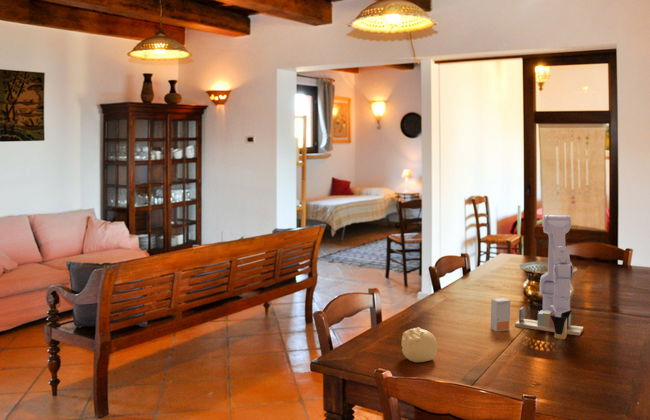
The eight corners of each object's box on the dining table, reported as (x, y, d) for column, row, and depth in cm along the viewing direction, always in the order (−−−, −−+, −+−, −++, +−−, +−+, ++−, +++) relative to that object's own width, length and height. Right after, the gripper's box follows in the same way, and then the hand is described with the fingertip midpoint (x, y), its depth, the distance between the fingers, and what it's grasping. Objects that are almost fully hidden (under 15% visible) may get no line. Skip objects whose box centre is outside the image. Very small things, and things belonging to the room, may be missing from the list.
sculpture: (398, 354, 219) (398, 323, 217) (432, 353, 219) (432, 322, 218) (404, 366, 207) (404, 334, 206) (440, 364, 208) (441, 333, 207)
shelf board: (519, 321, 256) (519, 318, 256) (583, 329, 244) (583, 326, 244) (514, 326, 249) (515, 323, 249) (579, 335, 237) (579, 332, 237)
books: (540, 322, 250) (540, 309, 250) (568, 326, 245) (569, 312, 244) (537, 325, 246) (537, 312, 245) (566, 329, 241) (567, 316, 240)
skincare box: (496, 332, 242) (496, 301, 241) (490, 328, 246) (490, 298, 245) (510, 330, 244) (510, 300, 242) (504, 327, 248) (504, 297, 247)
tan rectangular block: (556, 334, 239) (557, 316, 238) (566, 336, 237) (567, 317, 236) (554, 337, 235) (555, 319, 234) (564, 339, 233) (565, 320, 232)
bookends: (522, 319, 254) (522, 306, 253) (570, 326, 245) (571, 312, 244) (519, 322, 250) (519, 309, 249) (568, 329, 240) (568, 315, 240)
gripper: (554, 290, 242) (553, 324, 244) (546, 298, 230) (545, 334, 231) (574, 292, 239) (572, 327, 240) (567, 301, 226) (565, 337, 228)
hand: (560, 331), depth 235 cm, fingers open, 7 cm apart
